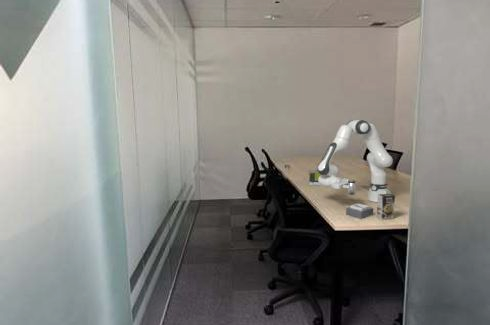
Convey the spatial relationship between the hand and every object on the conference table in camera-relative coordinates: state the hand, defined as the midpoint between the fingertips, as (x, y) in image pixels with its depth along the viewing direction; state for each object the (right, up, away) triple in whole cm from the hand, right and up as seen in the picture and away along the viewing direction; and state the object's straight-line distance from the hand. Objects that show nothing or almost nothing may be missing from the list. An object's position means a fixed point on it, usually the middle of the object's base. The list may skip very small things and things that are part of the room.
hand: (352, 186), depth 243 cm
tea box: (-6, -5, +92) cm, 92 cm away
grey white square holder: (+2, -19, -9) cm, 21 cm away
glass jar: (0, -6, +2) cm, 6 cm away
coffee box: (+17, -21, -16) cm, 31 cm away
